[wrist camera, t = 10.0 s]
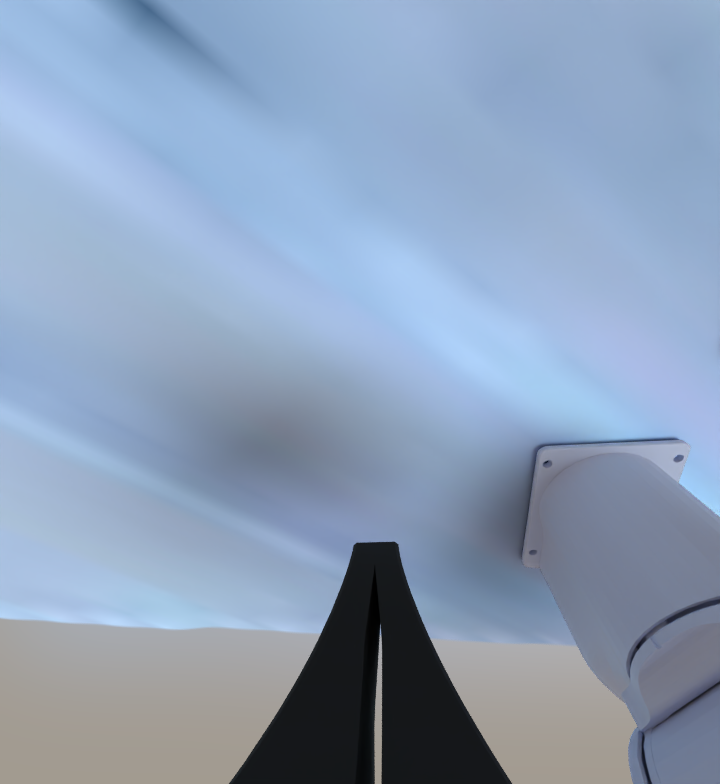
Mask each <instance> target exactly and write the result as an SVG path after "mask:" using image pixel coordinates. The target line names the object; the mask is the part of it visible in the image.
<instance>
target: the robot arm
mask: <svg viewBox="0 0 720 784" xmlns="http://www.w3.org/2000/svg"><path fill="white" fill-rule="evenodd" d="M689 452H690V445H689V444H687V443H686V442H684V441H683V440H664V441H643V442H621V443H599V444H578V445H556V446H544V447H542V448H540V449H539V451H538V453H537V458H536V464H535V471H534V478H533V485H532V492H531V499H530V505H529V512H528V519H527V526H526V533H525V540H524V546H523V553H522V562H523V565H524V566H525V567H527V568H540V570H541V572H542V574H543V576H544V578H545V580H546V582H547V584H548V586H549V588H550V590H551V592H552V594H553V596H554V598H555V601H556V603H557V605H558V607H559V609H560V611H561V613H562V615H563V617H564V619H565V621H566V623H567V625H568V627H569V629H570V632H571V634H572V636H573V638H574V640H575V642H576V644H577V646H578V648H579V650H580V652H581V654H582V656H583V658H584V659H585V661H586V663H587V665H588V666H589V667H590V669H591V670H592V671H593V673H594V674H595V675H596V676H597V678H598V679H599V680H600V681H601V682H602V683H603V684H604V685H605V686H606V687H607V688H608V689H609V690H610V691H611V692H612V693H613V694H615V695H616V696H617V697H618V698H619V699H621V700H622V701H623V702H624V703H626V705H627V707H628V709H629V711H630V713H631V715H632V717H633V719H634V720H635V722H636V724H637V726H638V727H637V728H636V729H635V730H634V732H633V734H632V736H631V738H630V742H629V747H628V755H629V766H630V772H631V777H632V781H633V784H720V517H719V516H718V515H717V514H715V513H714V512H713V511H712V510H711V509H709V508H708V507H707V506H706V505H705V504H703V503H702V502H701V501H700V500H699V499H697V498H696V497H695V496H694V495H693V494H691V493H690V492H689V491H688V490H686V489H685V488H684V487H683V486H682V485H680V484H679V480H680V477H681V474H682V471H683V469H684V466H685V463H686V460H687V458H688V455H689ZM675 456H676V457H675ZM674 457H675V458H674ZM547 460H549V462H547V463H545V464H543V463H544V462H545V461H547ZM380 623H381V635H382V784H512V783H511V781H510V780H509V778H508V777H507V775H506V773H505V772H504V770H503V769H502V767H501V766H500V764H499V762H498V761H497V759H496V758H495V756H494V755H493V753H492V751H491V750H490V748H489V746H488V745H487V743H486V741H485V740H484V738H483V736H482V735H481V733H480V731H479V730H478V728H477V726H476V724H475V723H474V721H473V719H472V718H471V716H470V714H469V712H468V711H467V709H466V707H465V706H464V704H463V702H462V700H461V699H460V697H459V695H458V693H457V691H456V689H455V688H454V686H453V684H452V682H451V680H450V678H449V676H448V674H447V672H446V670H445V668H444V666H443V665H442V663H441V661H440V659H439V656H438V654H437V653H436V650H435V648H434V646H433V644H432V642H431V640H430V637H429V635H428V633H427V631H426V629H425V626H424V624H423V622H422V619H421V617H420V615H419V612H418V610H417V607H416V604H415V602H414V599H413V597H412V594H411V591H410V588H409V586H408V583H407V580H406V576H405V573H404V570H403V566H402V562H401V558H400V553H399V547H398V544H397V543H396V542H369V543H356V544H355V545H354V547H353V551H352V555H351V559H350V563H349V566H348V569H347V572H346V575H345V578H344V581H343V583H342V586H341V589H340V591H339V594H338V596H337V599H336V601H335V604H334V606H333V609H332V611H331V613H330V615H329V618H328V620H327V622H326V624H325V626H324V628H323V631H322V633H321V635H320V637H319V639H318V641H317V643H316V645H315V647H314V649H313V651H312V653H311V655H310V657H309V659H308V661H307V662H306V664H305V666H304V668H303V670H302V672H301V674H300V676H299V677H298V679H297V681H296V682H295V684H294V686H293V688H292V689H291V691H290V693H289V694H288V696H287V698H286V699H285V701H284V703H283V704H282V706H281V708H280V709H279V711H278V712H277V714H276V716H275V717H274V719H273V720H272V722H271V724H270V725H269V727H268V728H267V730H266V731H265V732H264V734H263V735H262V737H261V739H260V740H259V741H258V743H257V744H256V746H255V747H254V749H253V751H252V752H251V754H250V755H249V756H248V758H247V760H246V761H245V762H244V764H243V765H242V767H241V768H240V769H239V771H238V772H237V774H236V775H235V776H234V778H233V779H232V781H231V782H230V783H229V784H375V782H374V781H375V775H374V774H375V772H374V771H375V770H374V768H375V766H374V720H375V698H376V683H377V668H378V652H379V636H380Z"/></svg>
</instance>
